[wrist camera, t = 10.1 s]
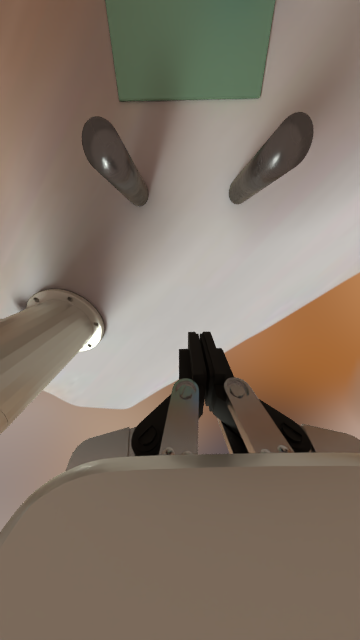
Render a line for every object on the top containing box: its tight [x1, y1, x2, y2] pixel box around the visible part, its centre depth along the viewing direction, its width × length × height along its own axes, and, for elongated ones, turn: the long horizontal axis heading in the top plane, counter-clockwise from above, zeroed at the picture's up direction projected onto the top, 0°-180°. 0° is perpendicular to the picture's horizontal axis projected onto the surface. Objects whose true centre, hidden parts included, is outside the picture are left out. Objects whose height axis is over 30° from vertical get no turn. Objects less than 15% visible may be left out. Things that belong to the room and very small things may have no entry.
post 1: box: [82, 117, 148, 206], centre depth 13 cm, size 3×3×9 cm
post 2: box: [229, 112, 313, 204], centre depth 13 cm, size 3×3×9 cm
